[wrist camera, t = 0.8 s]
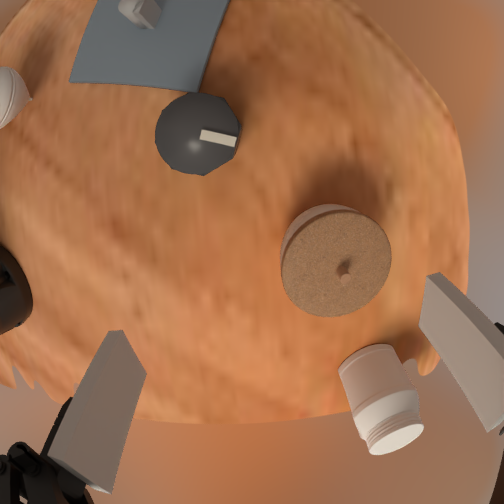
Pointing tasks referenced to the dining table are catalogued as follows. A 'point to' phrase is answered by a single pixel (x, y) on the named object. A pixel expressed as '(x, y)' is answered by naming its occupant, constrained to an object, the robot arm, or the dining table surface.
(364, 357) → the jar
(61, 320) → the dining table surface
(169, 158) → the knob
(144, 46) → the shaft plate
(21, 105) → the spinning top
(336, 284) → the lidded jar
